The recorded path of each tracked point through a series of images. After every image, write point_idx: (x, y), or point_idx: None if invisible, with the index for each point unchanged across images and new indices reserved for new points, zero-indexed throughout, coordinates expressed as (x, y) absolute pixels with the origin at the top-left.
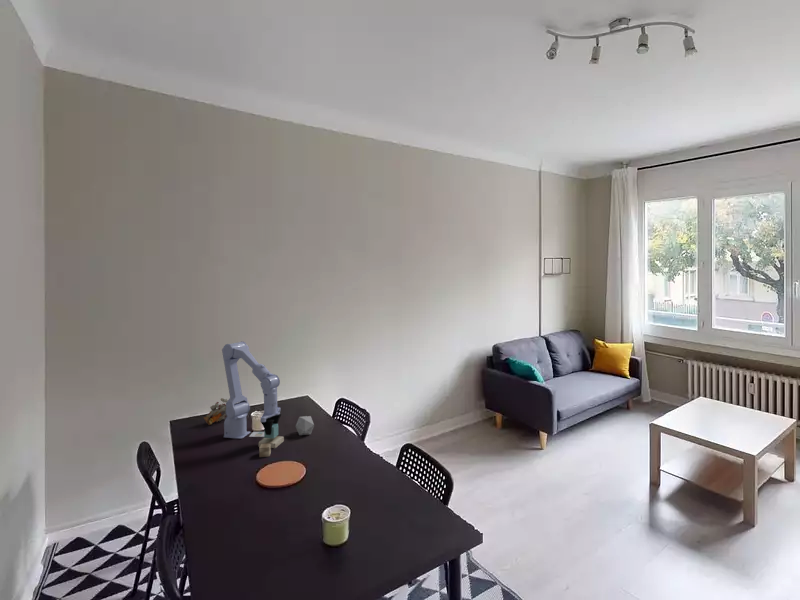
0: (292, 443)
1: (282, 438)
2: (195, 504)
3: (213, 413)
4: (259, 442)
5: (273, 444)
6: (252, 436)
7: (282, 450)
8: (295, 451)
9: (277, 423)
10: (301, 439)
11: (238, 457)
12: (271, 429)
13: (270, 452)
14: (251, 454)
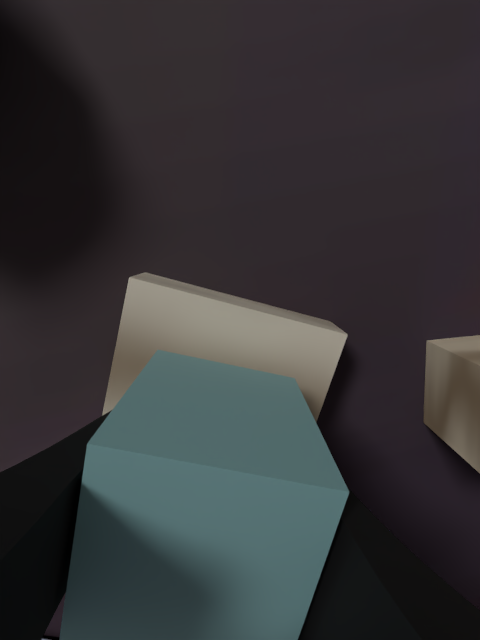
0: (218, 153)
1: (167, 285)
2: None
3: None
4: None
5: (335, 351)
6: None
7: (401, 232)
8: (456, 67)
9: (51, 469)
10: (92, 49)
11: (475, 562)
12: None
13: (454, 340)
14: (438, 489)
